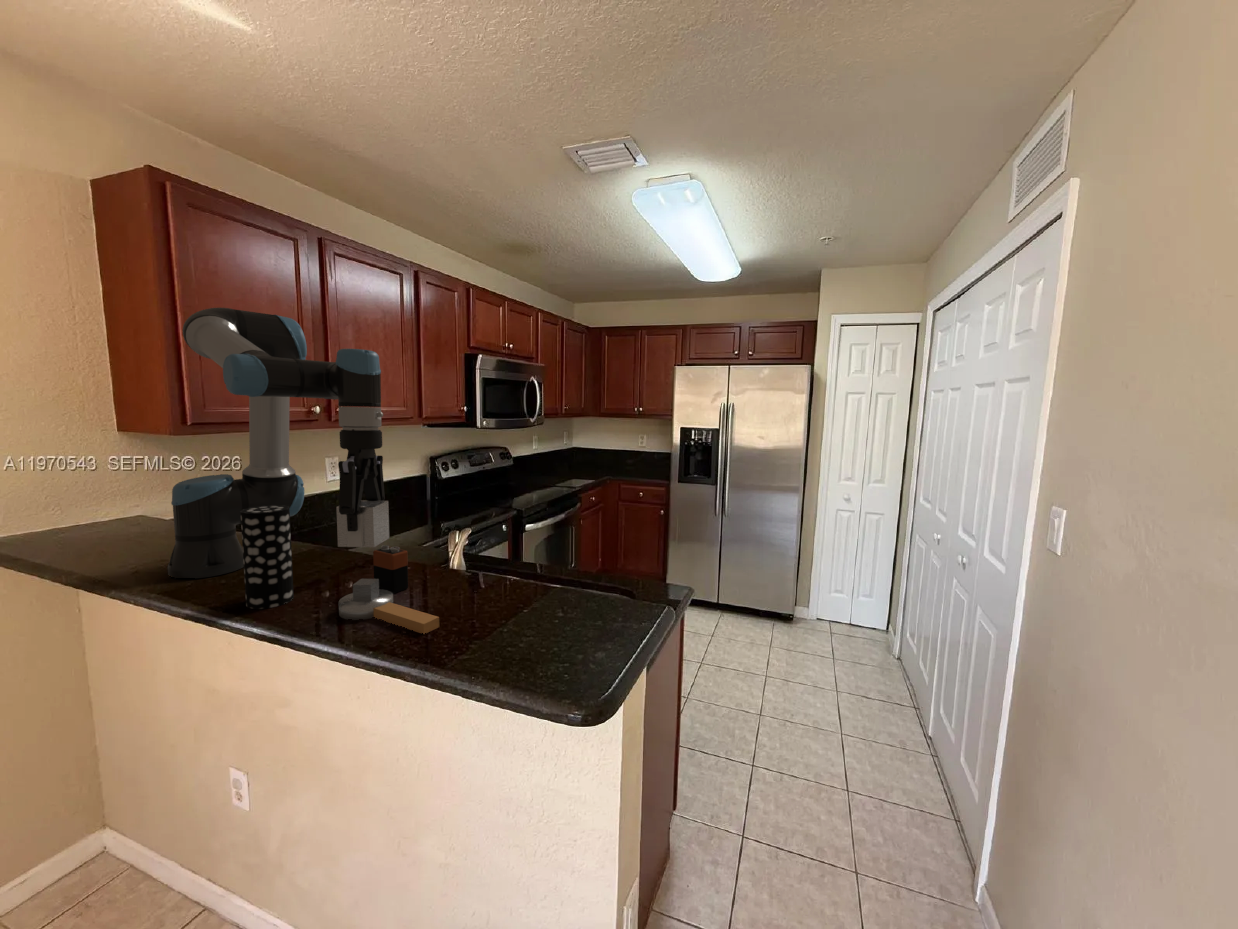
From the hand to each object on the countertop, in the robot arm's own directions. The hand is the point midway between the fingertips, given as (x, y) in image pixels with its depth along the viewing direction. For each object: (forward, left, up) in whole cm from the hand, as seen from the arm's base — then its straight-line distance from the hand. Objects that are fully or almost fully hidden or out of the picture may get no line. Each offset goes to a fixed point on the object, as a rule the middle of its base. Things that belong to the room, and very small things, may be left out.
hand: (364, 541), depth 100 cm
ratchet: (+6, -3, -15) cm, 16 cm away
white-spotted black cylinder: (-22, +4, -15) cm, 27 cm away
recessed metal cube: (0, 0, 0) cm, 0 cm away
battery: (0, +12, -15) cm, 19 cm away
